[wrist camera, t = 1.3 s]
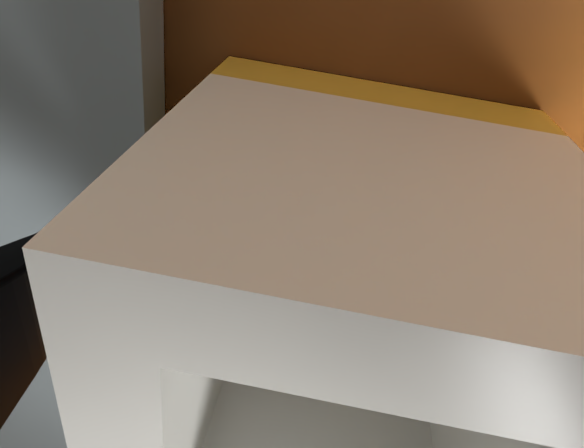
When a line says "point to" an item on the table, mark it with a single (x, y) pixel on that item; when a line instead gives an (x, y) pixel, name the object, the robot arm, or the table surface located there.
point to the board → (68, 130)
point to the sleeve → (321, 273)
